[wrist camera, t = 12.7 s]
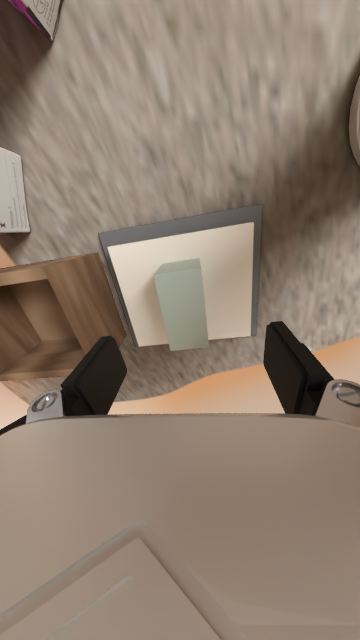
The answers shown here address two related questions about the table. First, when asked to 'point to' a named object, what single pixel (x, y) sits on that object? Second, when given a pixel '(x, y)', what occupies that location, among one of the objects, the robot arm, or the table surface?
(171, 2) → the table surface
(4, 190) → the supplement box
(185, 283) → the lid
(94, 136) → the table surface
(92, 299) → the box
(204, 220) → the mat
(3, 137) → the table surface
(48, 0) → the candy bar box
